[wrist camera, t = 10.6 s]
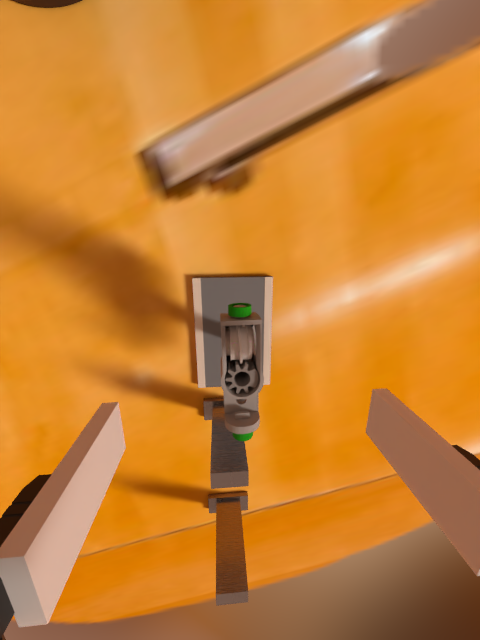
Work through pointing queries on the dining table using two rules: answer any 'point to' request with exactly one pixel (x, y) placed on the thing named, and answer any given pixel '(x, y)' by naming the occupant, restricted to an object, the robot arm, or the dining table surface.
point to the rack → (227, 506)
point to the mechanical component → (241, 369)
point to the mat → (215, 299)
